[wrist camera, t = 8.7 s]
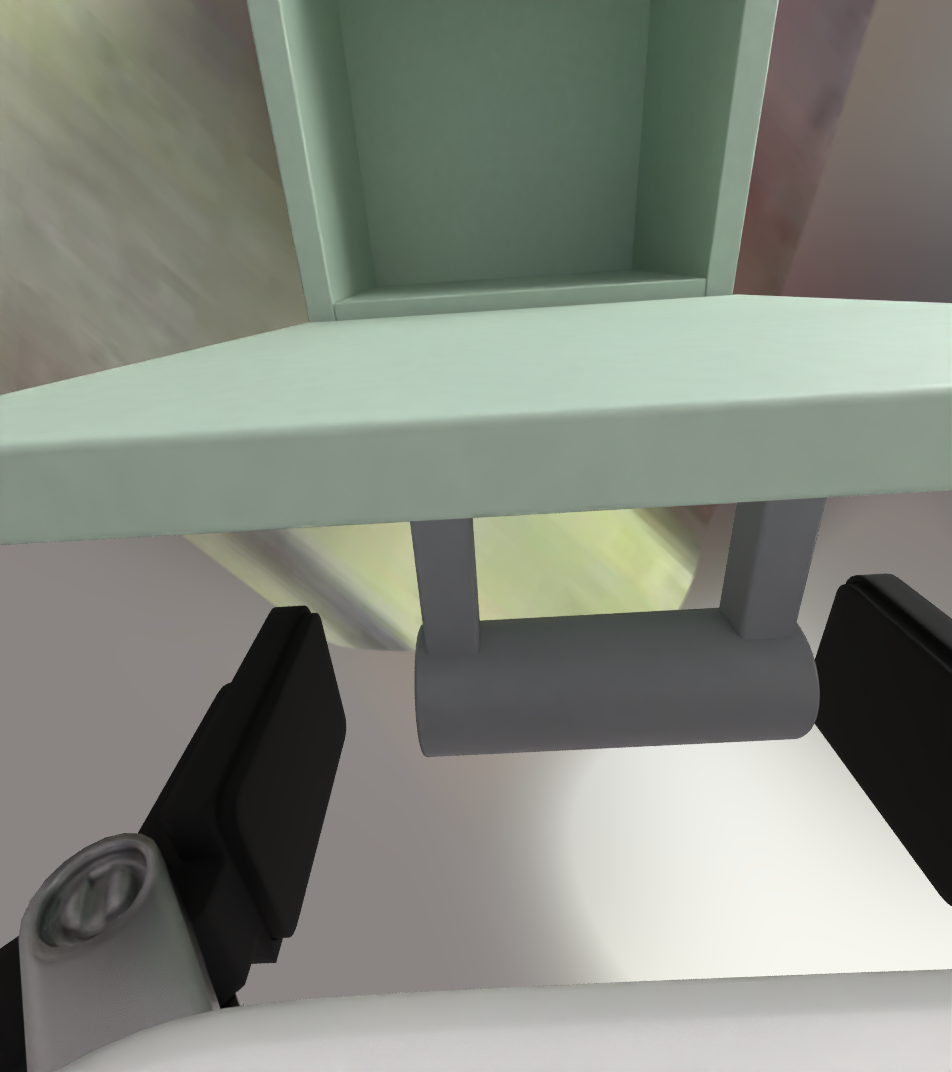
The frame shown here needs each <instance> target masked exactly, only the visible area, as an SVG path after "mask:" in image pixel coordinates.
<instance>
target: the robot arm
mask: <svg viewBox="0 0 952 1072" xmlns="http://www.w3.org/2000/svg"><path fill="white" fill-rule="evenodd" d="M815 663H816V668H817V672H818V679H819V690H820V698H819V709H818V714H817V718H816V720H815V725H816V726H817V727H818V729H819V730H820V731H821V733H822V734H823V736H824V737H825V738H826V739H827V741H828V742H829V744H830V745H831V747H832V748H833V749H834V751H835V752H836V753H837V755H838V756H839V758H840V759H841V760H842V762H843V763H844V764H845V766H846V767H847V768H848V770H849V771H850V773H851V774H852V775H853V777H854V778H855V779H856V781H857V782H858V784H859V785H860V786H861V788H862V789H863V790H864V792H865V793H866V795H867V796H868V797H869V799H870V800H871V801H872V803H873V804H874V806H875V807H876V808H877V810H878V811H879V812H880V814H881V815H882V816H883V818H884V819H885V821H886V822H887V823H888V825H889V826H890V827H891V829H892V830H893V832H894V833H895V834H896V836H897V837H898V838H899V839H900V841H901V843H902V844H903V845H904V846H905V848H906V849H907V851H908V852H909V854H910V855H911V856H912V858H913V859H914V860H915V862H916V863H917V865H918V866H919V867H920V868H921V870H922V871H923V873H924V874H925V875H926V877H927V878H928V880H929V881H930V882H931V884H932V885H933V886H934V888H935V889H936V890H937V892H938V893H939V895H940V896H941V897H942V898H943V899H944V900H945V901H946V902H947V903H948V904H949V905H950V906H952V619H951V618H950V617H949V616H948V615H946V614H945V613H944V612H942V611H941V610H940V609H938V608H937V607H936V606H934V605H933V604H932V603H931V602H929V601H928V600H927V599H925V598H924V597H923V596H921V595H920V594H919V593H917V592H916V591H915V590H913V589H912V588H911V587H910V586H908V585H907V584H906V583H904V582H903V581H902V580H900V579H899V578H898V577H896V576H894V575H892V574H872V575H856V576H852V577H850V578H849V579H848V580H847V582H846V584H844V585H841V586H840V587H839V589H838V590H837V593H836V596H835V599H834V602H833V605H832V608H831V611H830V615H829V618H828V621H827V624H826V627H825V630H824V633H823V636H822V639H821V642H820V645H819V648H818V652H817V655H816V658H815ZM345 734H346V719H345V714H344V710H343V706H342V702H341V698H340V694H339V690H338V685H337V682H336V677H335V674H334V669H333V665H332V662H331V657H330V654H329V649H328V645H327V641H326V637H325V633H324V629H323V625H322V621H321V618H320V616H319V614H318V613H311V612H310V610H309V608H308V607H307V606H288V607H275V608H273V609H272V610H271V611H270V613H269V615H268V617H267V618H266V620H265V622H264V624H263V626H262V628H261V629H260V631H259V633H258V635H257V637H256V639H255V640H254V642H253V644H252V646H251V647H250V649H249V651H248V653H247V655H246V657H245V658H244V660H243V662H242V664H241V666H240V667H239V669H238V671H237V673H236V675H235V677H234V678H233V680H232V682H231V683H228V684H226V685H225V686H223V687H222V688H221V690H220V691H219V692H218V694H217V695H216V697H215V699H214V701H213V702H212V704H211V706H210V708H209V709H208V711H207V713H206V715H205V716H204V718H203V720H202V722H201V723H200V725H199V727H198V729H197V730H196V732H195V734H194V736H193V737H192V739H191V741H190V743H189V744H188V746H187V748H186V750H185V751H184V753H183V755H182V757H181V759H180V760H179V762H178V764H177V766H176V767H175V769H174V771H173V772H172V774H171V776H170V778H169V779H168V781H167V783H166V785H165V787H164V788H163V790H162V792H161V794H160V795H159V797H158V799H157V801H156V803H155V804H154V806H153V808H152V809H151V811H150V813H149V815H148V816H147V818H146V820H145V822H144V823H143V825H142V827H141V829H140V830H139V832H138V834H137V833H123V834H118V835H115V836H110V837H106V838H104V839H102V840H100V841H97V842H95V843H93V844H91V845H89V846H87V847H85V848H83V849H82V850H81V851H79V852H78V853H76V854H75V855H73V856H72V857H70V858H69V859H68V860H66V861H65V862H64V863H63V864H62V865H60V867H58V868H57V869H56V870H55V871H54V872H53V873H52V874H51V875H50V876H49V877H48V878H47V879H46V880H45V881H44V883H43V884H42V885H41V887H40V888H39V889H38V891H37V892H36V893H35V895H34V896H33V897H32V899H31V900H30V902H29V905H28V907H27V909H26V911H25V913H24V915H23V917H22V920H21V926H20V932H19V936H18V937H17V938H15V939H14V940H12V941H11V942H9V943H8V944H6V945H5V946H3V947H2V948H1V949H0V1072H952V969H947V970H918V971H889V972H861V973H837V974H812V975H787V976H763V977H737V978H713V979H689V980H664V981H639V982H616V983H594V984H573V985H550V986H528V987H507V988H485V989H464V990H443V991H422V992H421V991H420V992H404V993H389V994H376V995H360V996H344V997H329V998H315V999H299V1000H287V1001H279V1002H271V1003H263V1004H255V1005H247V1006H244V1004H243V1002H242V999H241V996H240V994H239V990H240V989H241V988H242V987H243V986H244V985H245V983H246V980H247V976H248V973H249V970H250V966H251V964H257V963H276V961H277V957H278V954H279V950H280V947H281V943H282V939H283V938H289V937H291V936H292V935H293V933H294V931H295V929H296V926H297V923H298V919H299V915H300V912H301V908H302V903H303V899H304V896H305V892H306V888H307V884H308V880H309V876H310V872H311V869H312V865H313V861H314V857H315V853H316V849H317V845H318V841H319V837H320V833H321V829H322V826H323V821H324V818H325V814H326V810H327V806H328V802H329V798H330V794H331V790H332V786H333V783H334V779H335V775H336V771H337V767H338V763H339V759H340V755H341V751H342V748H343V744H344V740H345Z"/></svg>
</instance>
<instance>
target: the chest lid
mask: <svg viewBox="0 0 952 1072" xmlns="http://www.w3.org/2000/svg"><path fill="white" fill-rule="evenodd" d="M945 490H952V303H929V302H928V303H927V302H905V301H880V300H856V299H831V298H807V297H782V296H758V295H725V296H710V297H694V298H679V299H664V300H649V301H633V302H618V303H603V304H587V305H572V306H557V307H542V308H526V309H511V310H496V311H480V312H465V313H450V314H434V315H419V316H404V317H389V318H373V319H358V320H343V321H327V322H312V323H304V324H300V325H296V326H291V327H287V328H283V329H279V330H274V331H270V332H266V333H262V334H258V335H253V336H249V337H245V338H241V339H236V340H232V341H228V342H224V343H219V344H215V345H211V346H207V347H203V348H198V349H194V350H190V351H186V352H181V353H177V354H173V355H169V356H164V357H160V358H156V359H152V360H148V361H143V362H139V363H135V364H131V365H126V366H122V367H118V368H114V369H109V370H105V371H101V372H97V373H93V374H88V375H84V376H80V377H76V378H71V379H67V380H63V381H59V382H54V383H50V384H46V385H42V386H38V387H33V388H29V389H25V390H21V391H16V392H12V393H8V394H4V395H0V545H12V544H27V543H28V544H29V543H46V542H64V541H81V540H98V539H115V538H133V537H149V536H167V535H185V534H202V533H219V532H236V531H254V530H271V529H288V528H306V527H323V526H340V525H357V524H375V523H392V522H409V521H410V525H411V533H412V541H413V549H414V557H415V565H416V573H417V581H418V589H419V597H420V605H421V613H422V621H423V625H421V627H420V629H419V632H418V636H417V643H416V653H415V710H416V722H417V732H418V738H419V743H420V747H421V750H422V753H423V755H424V756H426V757H437V756H459V755H478V754H498V753H518V752H540V751H559V750H581V749H598V748H599V749H601V748H621V747H642V746H662V745H681V744H700V743H701V744H702V743H723V742H741V741H764V740H784V739H797V738H800V737H802V736H804V735H806V734H807V733H808V732H809V731H810V730H811V729H812V727H813V725H814V723H815V720H816V718H817V714H818V709H819V698H820V690H819V679H818V672H817V668H816V663H815V660H814V657H813V653H812V651H811V648H810V645H809V643H808V641H807V639H806V637H805V635H804V633H803V632H802V630H801V628H800V627H799V625H798V624H797V618H798V614H799V609H800V605H801V601H802V597H803V593H804V589H805V585H806V581H807V577H808V573H809V569H810V565H811V560H812V556H813V552H814V548H815V544H816V540H817V536H818V532H819V528H820V524H821V520H822V515H823V511H824V507H825V503H826V499H827V497H841V496H859V495H876V494H893V493H911V492H928V491H945ZM735 502H736V503H737V505H736V511H735V517H734V523H733V529H732V535H731V541H730V547H729V553H728V559H727V565H726V571H725V577H724V583H723V589H722V595H721V601H720V607H719V608H706V609H688V610H669V611H651V612H632V613H614V614H595V615H577V616H558V617H540V618H521V619H503V620H484V621H480V620H479V605H478V590H477V576H476V561H475V547H474V532H473V518H478V517H496V516H513V515H530V514H548V513H565V512H582V511H599V510H617V509H634V508H651V507H669V506H686V505H703V504H720V503H735Z"/></svg>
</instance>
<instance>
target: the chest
mask: <svg viewBox="0 0 952 1072" xmlns="http://www.w3.org/2000/svg"><path fill="white" fill-rule="evenodd" d="M778 1H779V0H246V3H247V8H248V13H249V18H250V23H251V28H252V33H253V38H254V43H255V48H256V54H257V59H258V64H259V69H260V74H261V79H262V84H263V89H264V94H265V99H266V104H267V110H268V115H269V120H270V125H271V130H272V135H273V140H274V145H275V150H276V155H277V160H278V166H279V171H280V176H281V181H282V186H283V191H284V196H285V201H286V206H287V211H288V217H289V222H290V227H291V232H292V237H293V242H294V247H295V252H296V257H297V262H298V267H299V273H300V278H301V283H302V288H303V293H304V298H305V303H306V308H307V313H308V318H309V323H312V322H327V321H343V320H358V319H373V318H389V317H404V316H419V315H434V314H450V313H465V312H480V311H496V310H511V309H526V308H542V307H557V306H572V305H587V304H603V303H618V302H633V301H649V300H664V299H679V298H694V297H710V296H725V295H732V293H733V287H734V280H735V274H736V268H737V261H738V255H739V249H740V242H741V236H742V229H743V223H744V217H745V210H746V204H747V198H748V191H749V185H750V179H751V172H752V166H753V160H754V153H755V147H756V141H757V134H758V128H759V121H760V115H761V109H762V102H763V96H764V90H765V83H766V77H767V71H768V64H769V58H770V52H771V45H772V39H773V33H774V26H775V20H776V13H777V7H778Z"/></svg>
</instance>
